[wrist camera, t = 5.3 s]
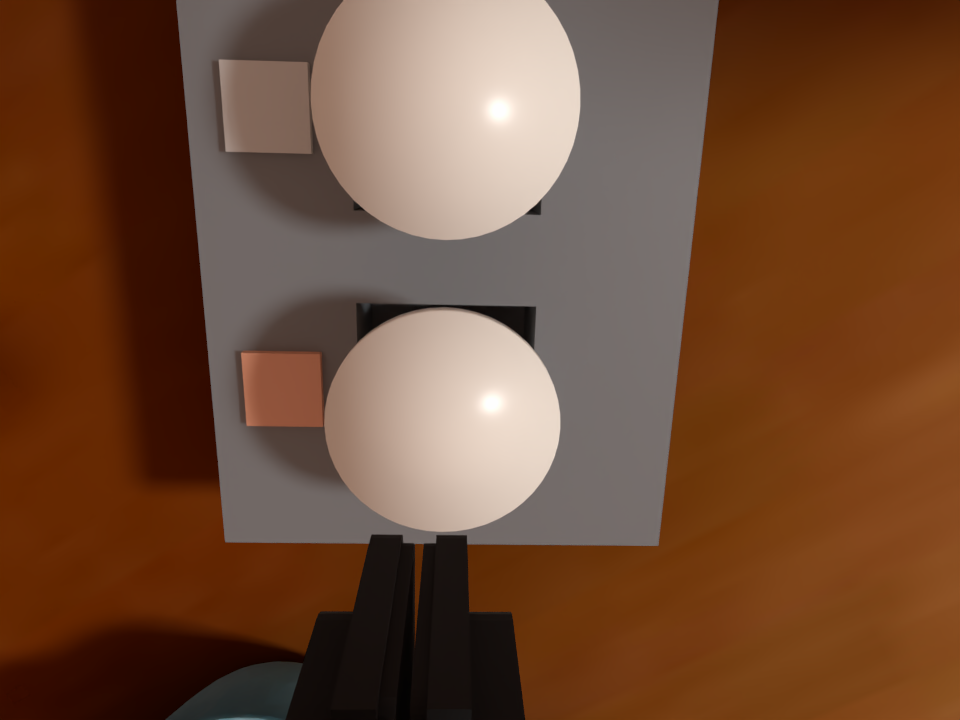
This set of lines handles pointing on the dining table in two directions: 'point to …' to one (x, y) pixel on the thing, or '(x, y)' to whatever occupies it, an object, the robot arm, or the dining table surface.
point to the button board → (445, 270)
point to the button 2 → (442, 419)
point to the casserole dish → (245, 694)
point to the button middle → (445, 110)
